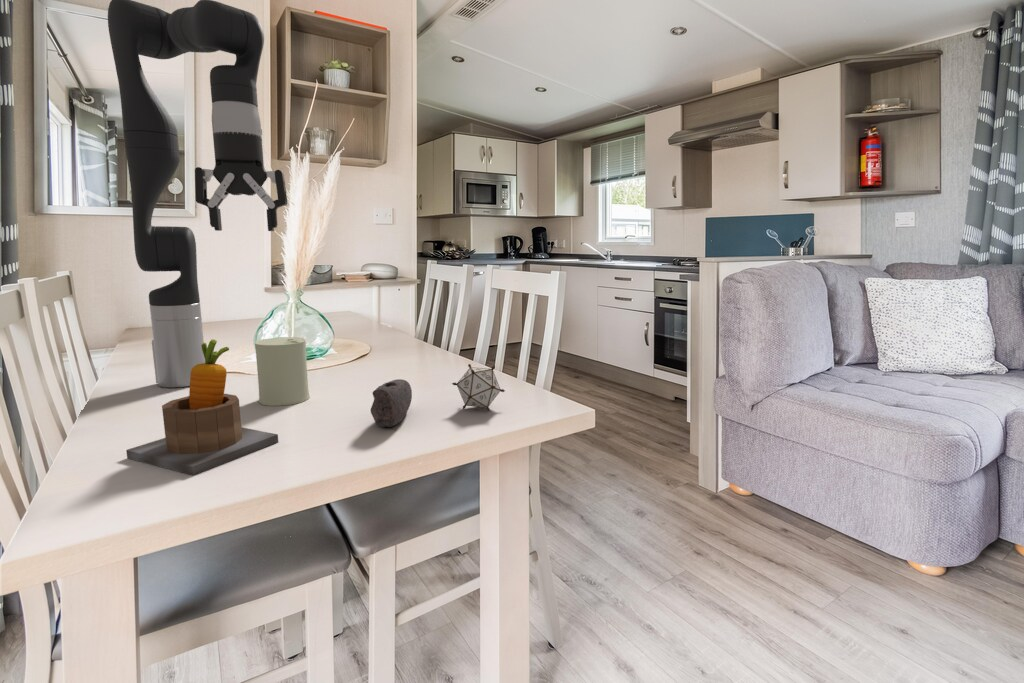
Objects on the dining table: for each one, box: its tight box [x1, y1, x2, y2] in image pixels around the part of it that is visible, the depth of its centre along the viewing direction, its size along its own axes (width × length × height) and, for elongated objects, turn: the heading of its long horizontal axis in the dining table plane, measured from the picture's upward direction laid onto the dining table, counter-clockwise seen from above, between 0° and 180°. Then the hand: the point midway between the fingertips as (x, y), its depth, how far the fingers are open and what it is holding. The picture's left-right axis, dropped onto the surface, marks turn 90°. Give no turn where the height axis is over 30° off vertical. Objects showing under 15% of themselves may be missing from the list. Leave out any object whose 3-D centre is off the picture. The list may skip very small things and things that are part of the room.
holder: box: [126, 393, 279, 476], centre depth 83 cm, size 14×14×7 cm
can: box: [254, 336, 311, 407], centre depth 109 cm, size 9×9×12 cm
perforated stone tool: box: [370, 378, 413, 428], centre depth 98 cm, size 15×5×7 cm, turn 173°
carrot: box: [188, 339, 230, 409], centre depth 83 cm, size 5×5×15 cm
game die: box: [451, 363, 506, 412], centre depth 104 cm, size 9×8×10 cm
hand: (245, 230), depth 99 cm, fingers open, 8 cm apart
